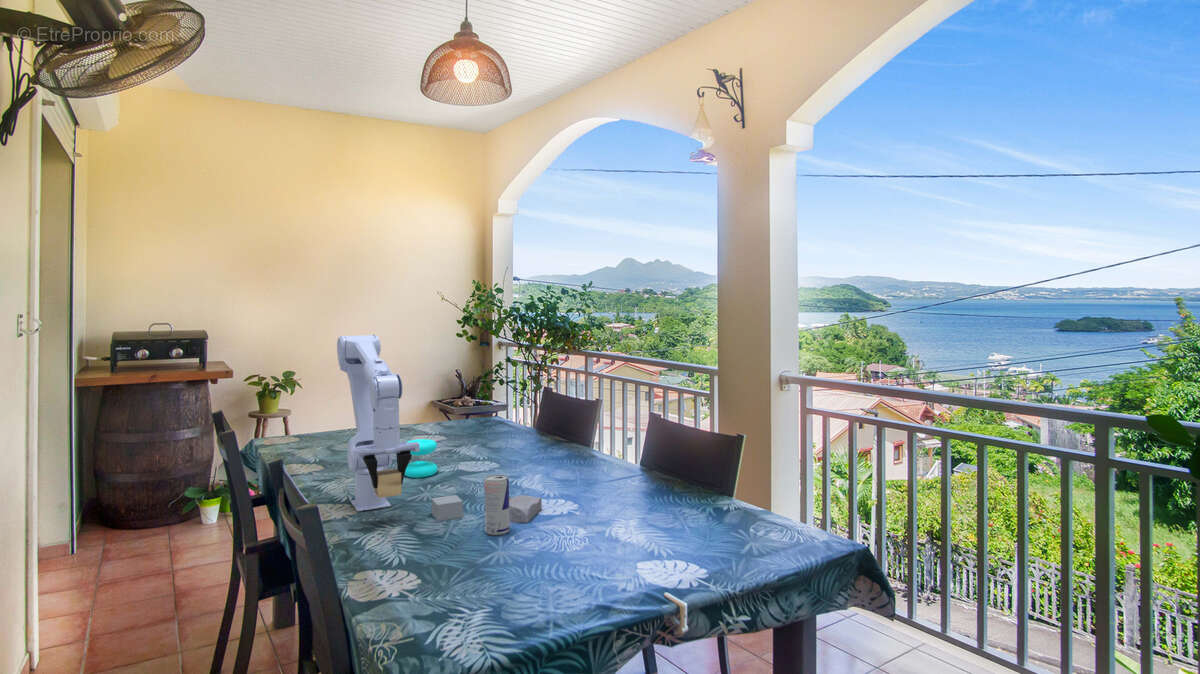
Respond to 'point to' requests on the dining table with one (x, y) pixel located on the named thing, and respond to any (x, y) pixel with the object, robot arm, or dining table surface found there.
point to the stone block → (523, 508)
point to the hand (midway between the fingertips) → (387, 485)
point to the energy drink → (496, 504)
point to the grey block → (447, 507)
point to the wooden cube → (388, 483)
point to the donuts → (422, 467)
